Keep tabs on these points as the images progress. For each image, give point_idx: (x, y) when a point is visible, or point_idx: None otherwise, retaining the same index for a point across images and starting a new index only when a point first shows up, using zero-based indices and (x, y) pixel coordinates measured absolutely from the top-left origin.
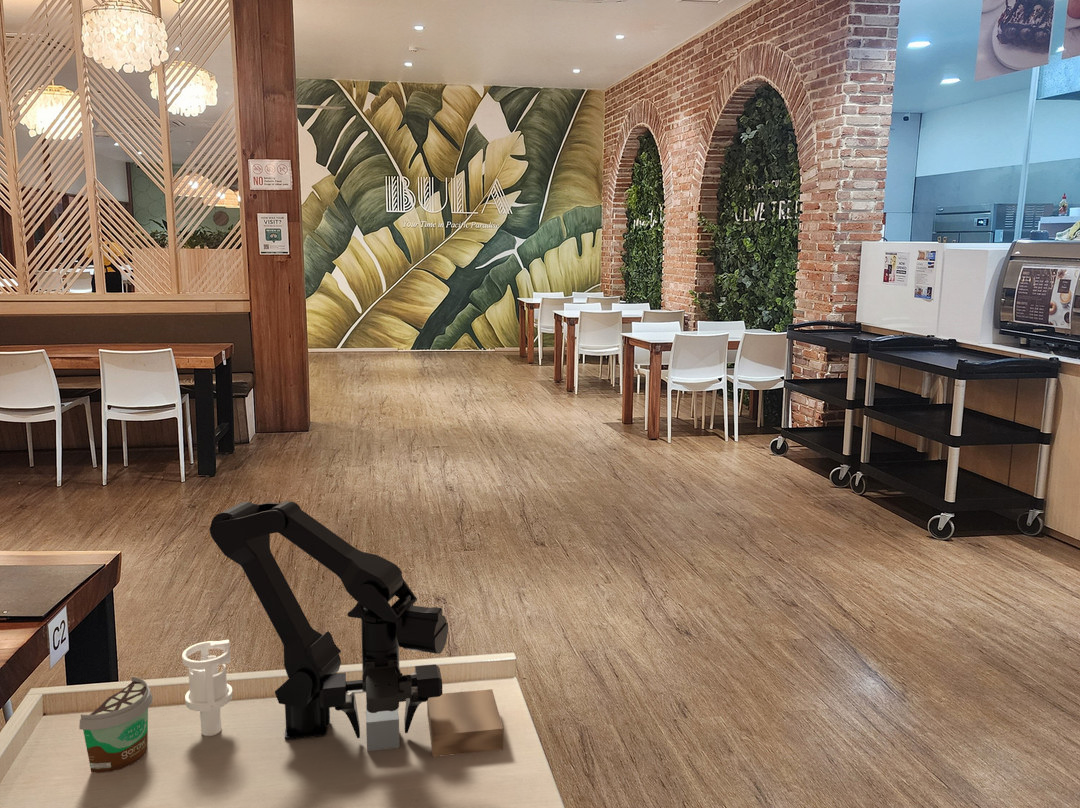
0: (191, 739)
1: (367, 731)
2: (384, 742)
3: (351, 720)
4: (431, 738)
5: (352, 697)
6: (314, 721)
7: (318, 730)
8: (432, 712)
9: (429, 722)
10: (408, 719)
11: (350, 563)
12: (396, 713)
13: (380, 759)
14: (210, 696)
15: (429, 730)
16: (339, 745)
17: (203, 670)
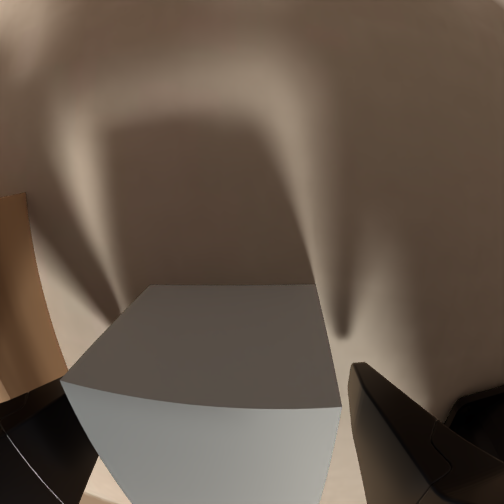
0: None
1: (323, 352)
2: (213, 301)
3: (441, 431)
4: (6, 269)
5: None
6: (501, 434)
7: (475, 414)
8: (3, 396)
9: (40, 376)
10: (59, 389)
11: None
12: (99, 442)
13: (241, 196)
14: None
15: (60, 359)
16: (430, 343)
17: None
